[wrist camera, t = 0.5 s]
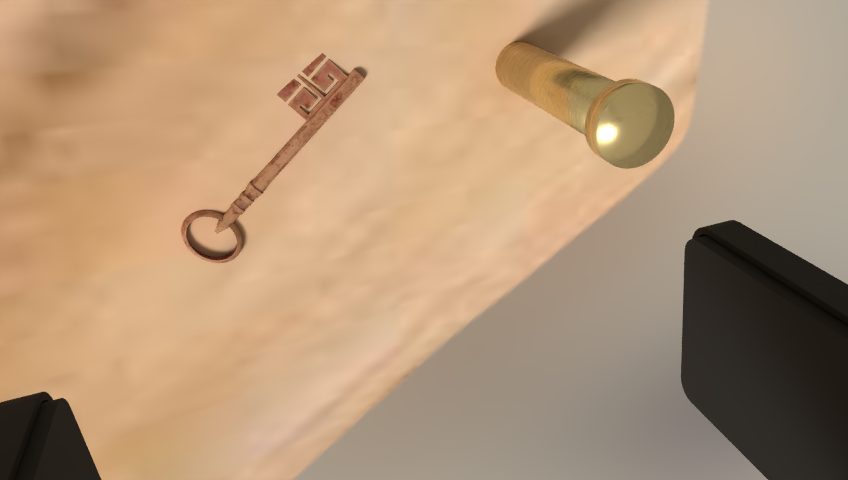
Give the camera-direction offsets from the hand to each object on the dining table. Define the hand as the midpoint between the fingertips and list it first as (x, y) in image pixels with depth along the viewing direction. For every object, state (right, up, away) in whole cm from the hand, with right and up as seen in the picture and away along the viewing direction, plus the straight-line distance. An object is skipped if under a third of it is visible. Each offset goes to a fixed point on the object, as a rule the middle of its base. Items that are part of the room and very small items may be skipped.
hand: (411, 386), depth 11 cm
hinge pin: (+6, +13, +35) cm, 38 cm away
